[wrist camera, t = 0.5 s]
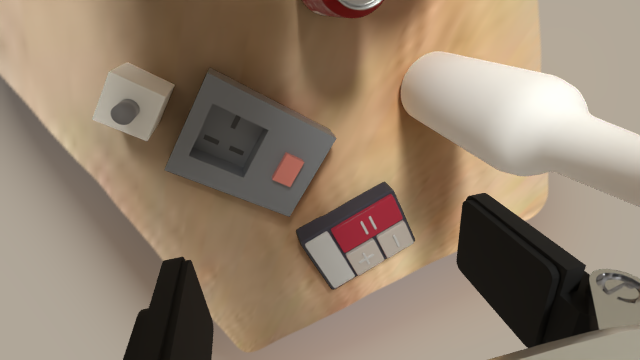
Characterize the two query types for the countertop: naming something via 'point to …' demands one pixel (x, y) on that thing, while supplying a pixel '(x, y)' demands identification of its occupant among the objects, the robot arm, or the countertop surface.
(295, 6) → the countertop surface
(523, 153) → the alcohol
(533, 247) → the robot arm
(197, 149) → the socket plate
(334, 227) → the button control panel
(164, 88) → the plug
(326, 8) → the soda can
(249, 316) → the countertop surface
